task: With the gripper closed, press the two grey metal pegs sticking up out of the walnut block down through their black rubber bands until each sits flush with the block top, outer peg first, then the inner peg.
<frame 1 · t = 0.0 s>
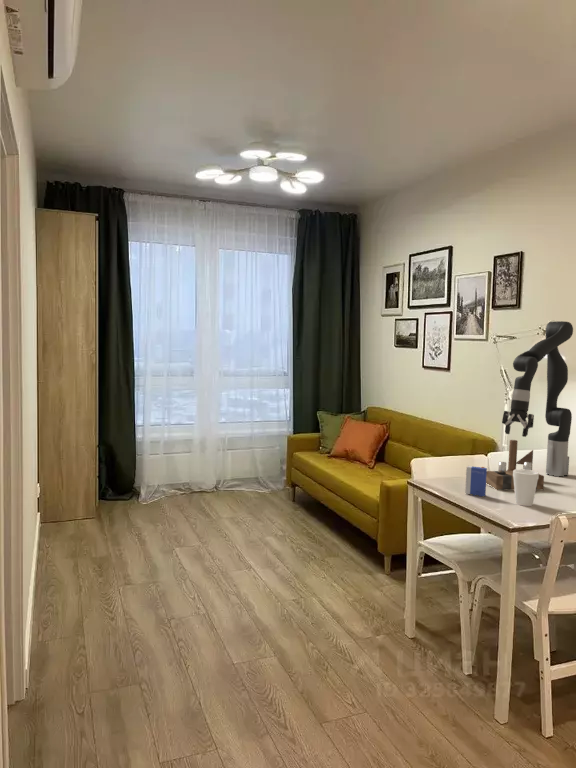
hand: (515, 435, 267), 22 cm above the table, tool pointing down, fingers open, 8 cm apart
wooden block: (519, 478, 280), on the table
foam cup: (524, 504, 235), on the table
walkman: (475, 495, 247), on the table
band block: (514, 486, 263), on the table
peg inner: (527, 468, 263), point 8 cm above the table, slide at 5.0 cm
peg outer: (502, 468, 262), point 8 cm above the table, slide at 5.0 cm
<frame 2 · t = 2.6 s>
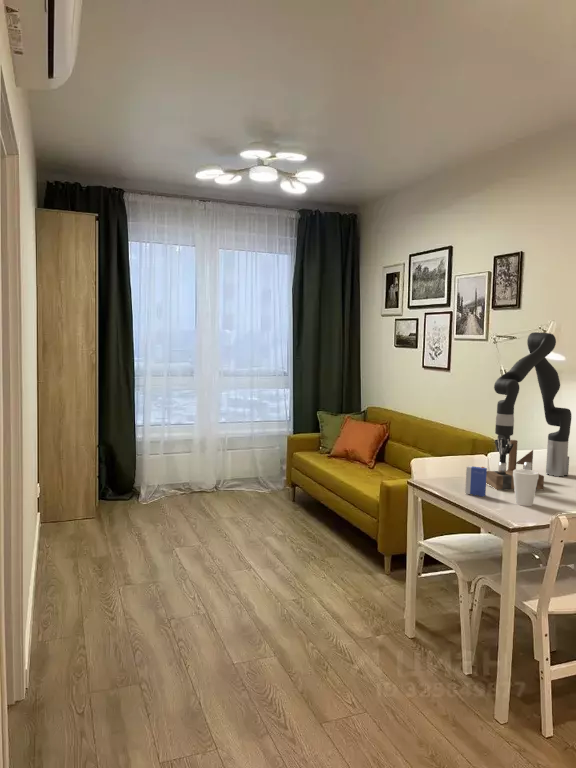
hand: (502, 462, 262), 11 cm above the table, tool pointing down, fingers closed
peg outer: (502, 469, 262), point 8 cm above the table, slide at 5.0 cm, touching gripper
everything else where it was.
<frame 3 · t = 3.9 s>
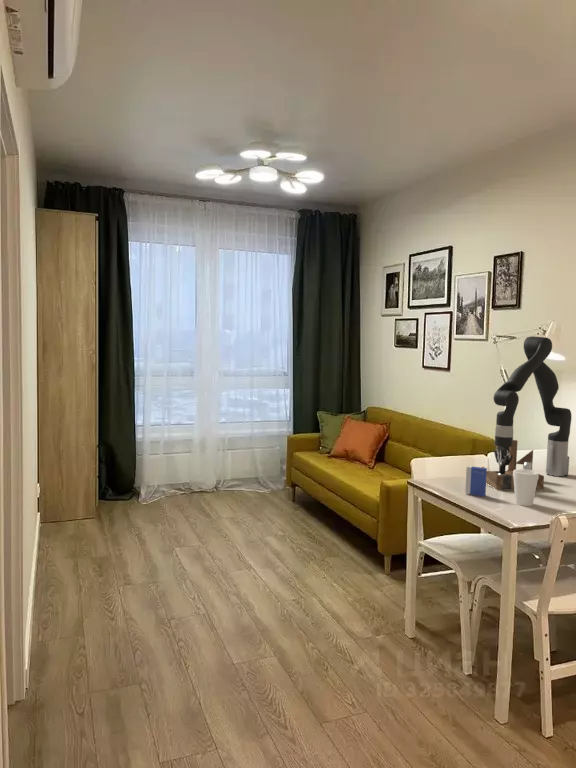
hand: (502, 473, 262), 6 cm above the table, tool pointing down, fingers closed
peg outer: (501, 480, 262), point 3 cm above the table, slide at 0.0 cm, touching gripper
everything else where it was.
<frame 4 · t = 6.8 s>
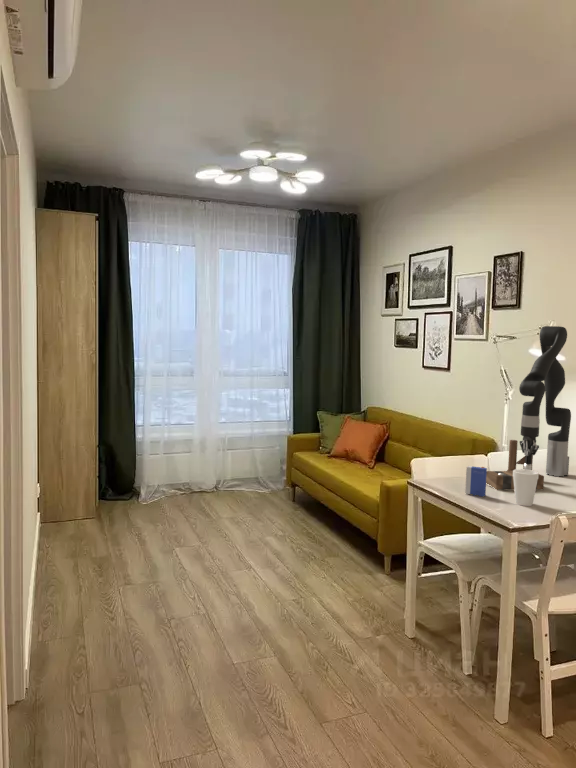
hand: (527, 463, 263), 10 cm above the table, tool pointing down, fingers closed
peg inner: (527, 470, 263), point 8 cm above the table, slide at 4.4 cm, touching gripper
peg outer: (501, 480, 262), point 3 cm above the table, slide at 0.0 cm
everything else where it was.
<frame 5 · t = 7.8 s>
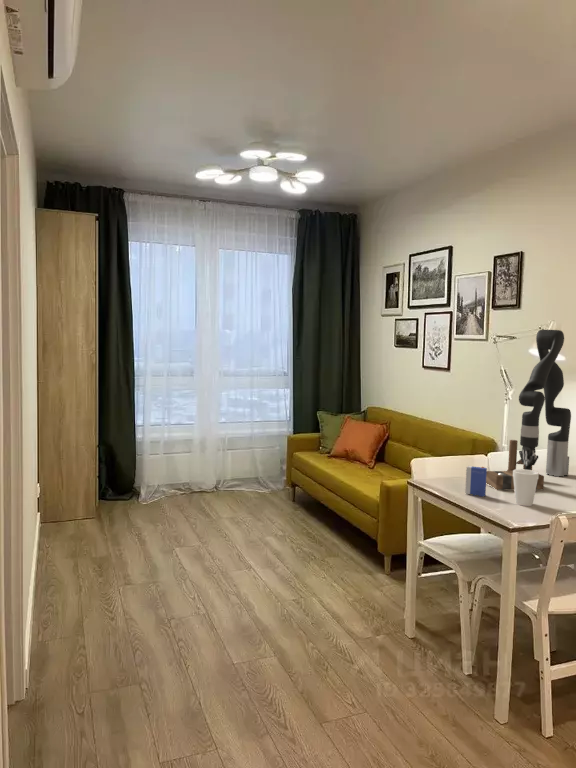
hand: (527, 473, 263), 6 cm above the table, tool pointing down, fingers closed
peg inner: (527, 480, 264), point 3 cm above the table, slide at -0.1 cm, touching gripper
everything else where it was.
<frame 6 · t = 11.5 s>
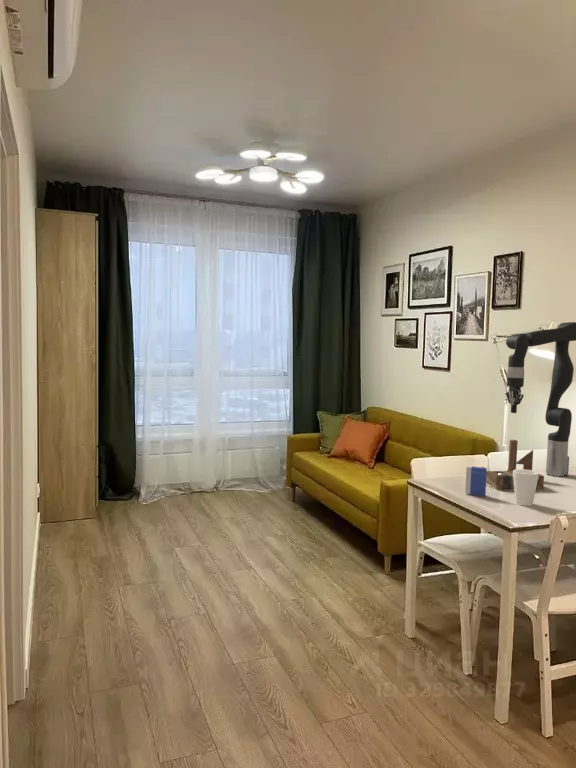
hand: (513, 412, 281), 31 cm above the table, tool pointing down, fingers closed
peg inner: (527, 480, 264), point 3 cm above the table, slide at -0.1 cm
everything else where it was.
at the end: peg outer slide at 0.0 cm; peg inner slide at -0.1 cm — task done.
